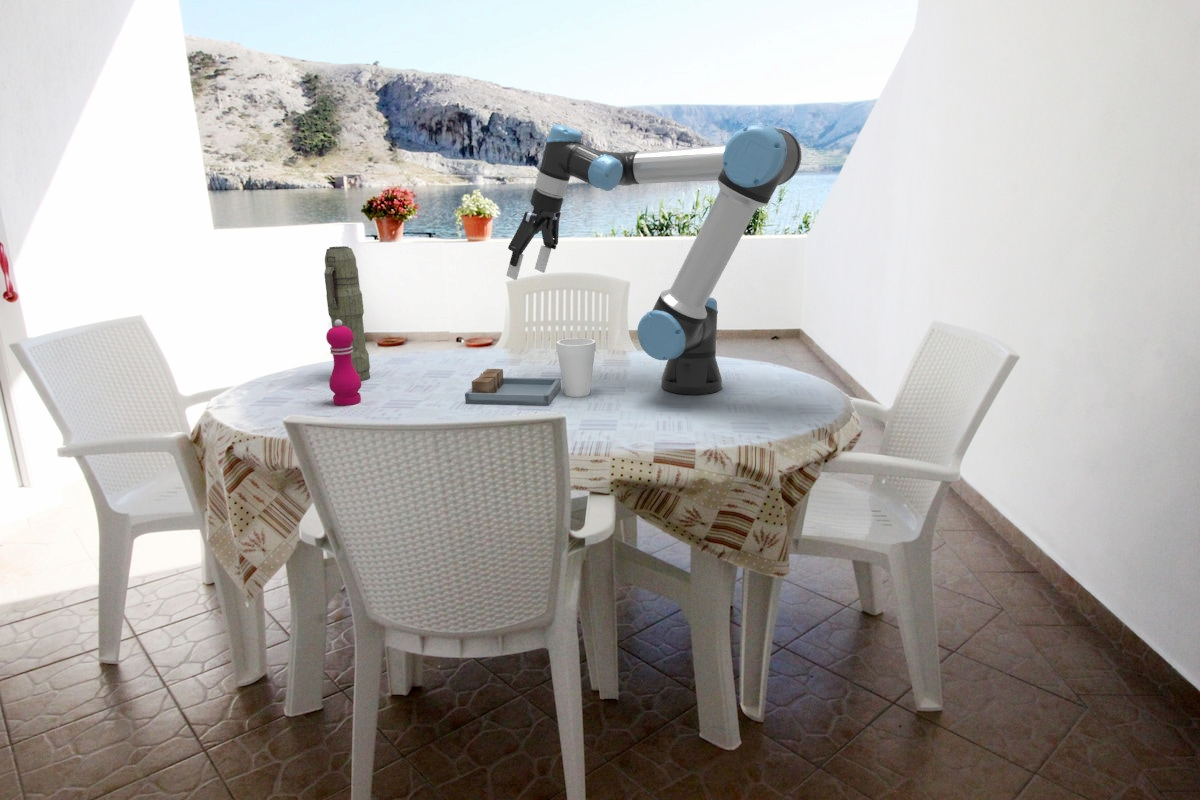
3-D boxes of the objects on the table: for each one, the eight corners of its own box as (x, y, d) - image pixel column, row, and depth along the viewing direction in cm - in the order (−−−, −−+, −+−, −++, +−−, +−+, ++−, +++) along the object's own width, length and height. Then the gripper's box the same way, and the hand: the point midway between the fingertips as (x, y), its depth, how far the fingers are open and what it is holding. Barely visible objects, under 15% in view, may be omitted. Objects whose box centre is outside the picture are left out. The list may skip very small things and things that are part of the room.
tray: (560, 387, 181) (560, 378, 181) (548, 405, 166) (548, 395, 166) (484, 386, 184) (483, 377, 183) (465, 403, 169) (464, 393, 168)
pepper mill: (333, 407, 167) (323, 323, 161) (329, 400, 173) (319, 318, 167) (365, 403, 170) (356, 320, 164) (360, 396, 176) (351, 316, 170)
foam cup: (579, 400, 170) (578, 347, 166) (550, 394, 175) (548, 342, 172) (603, 392, 177) (602, 340, 173) (574, 386, 182) (573, 336, 179)
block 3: (503, 384, 182) (502, 369, 180) (499, 388, 178) (498, 372, 177) (488, 383, 182) (487, 368, 181) (483, 388, 178) (482, 372, 177)
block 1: (494, 394, 173) (493, 378, 172) (488, 398, 169) (487, 382, 168) (479, 393, 174) (478, 377, 172) (472, 397, 170) (471, 381, 169)
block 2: (498, 388, 178) (497, 373, 176) (496, 392, 174) (495, 376, 173) (481, 388, 177) (481, 373, 176) (479, 393, 174) (478, 377, 173)
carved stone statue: (326, 383, 189) (310, 248, 179) (349, 372, 200) (335, 245, 190) (357, 384, 187) (342, 248, 177) (378, 373, 198) (365, 245, 188)
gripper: (561, 185, 183) (538, 262, 193) (508, 188, 162) (486, 274, 171) (585, 196, 181) (561, 273, 190) (535, 200, 160) (511, 287, 169)
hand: (525, 274), depth 181 cm, fingers open, 13 cm apart
